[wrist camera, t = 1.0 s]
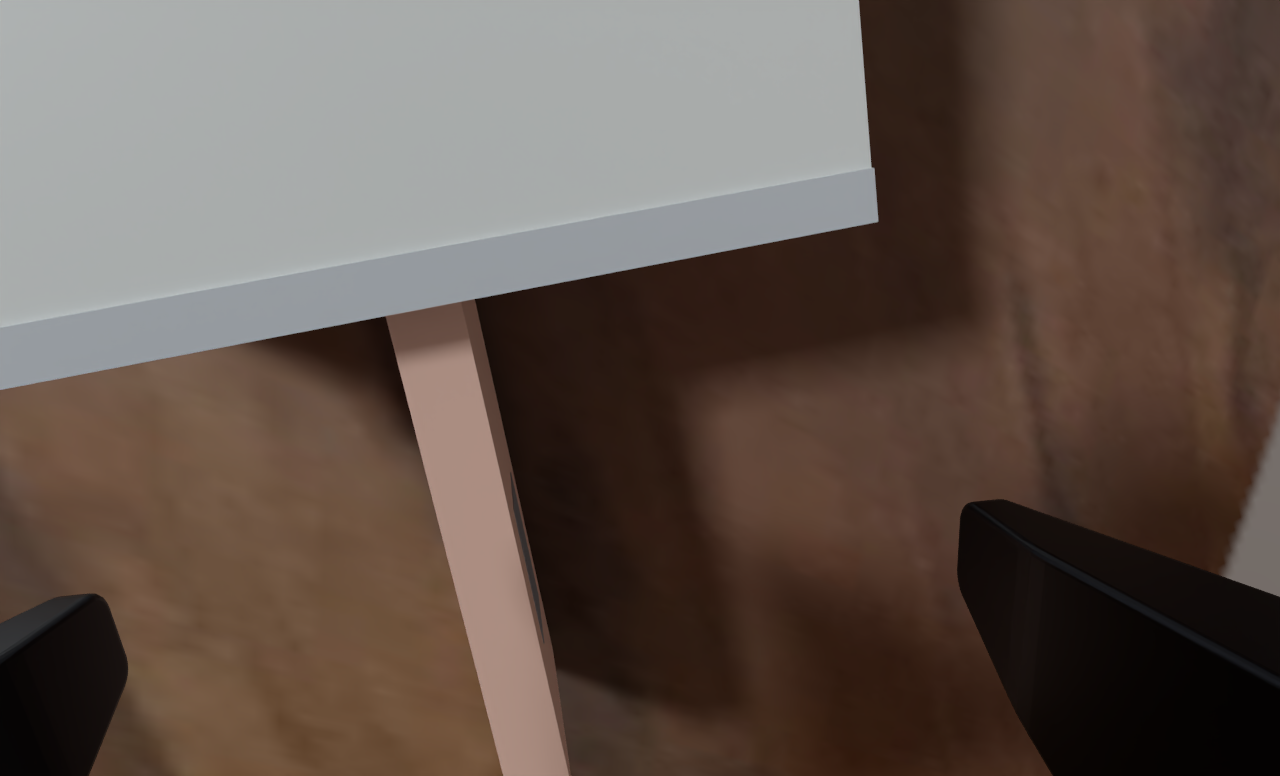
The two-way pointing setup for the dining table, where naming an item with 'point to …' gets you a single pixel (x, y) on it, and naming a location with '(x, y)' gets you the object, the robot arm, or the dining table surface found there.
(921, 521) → the dining table surface
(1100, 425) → the dining table surface
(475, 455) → the pink plank
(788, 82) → the white box
